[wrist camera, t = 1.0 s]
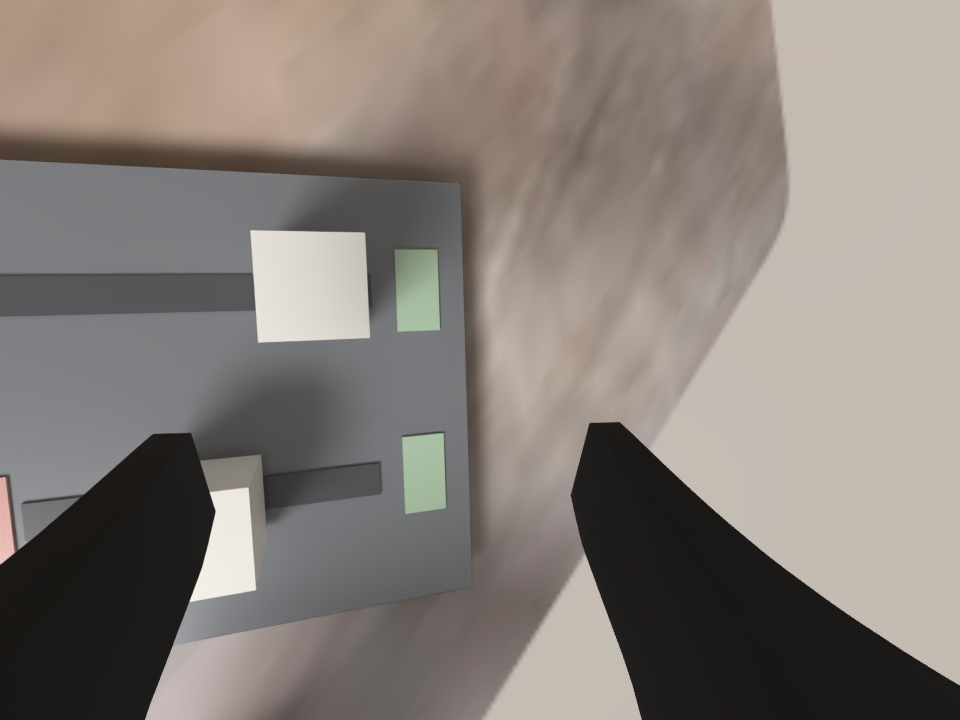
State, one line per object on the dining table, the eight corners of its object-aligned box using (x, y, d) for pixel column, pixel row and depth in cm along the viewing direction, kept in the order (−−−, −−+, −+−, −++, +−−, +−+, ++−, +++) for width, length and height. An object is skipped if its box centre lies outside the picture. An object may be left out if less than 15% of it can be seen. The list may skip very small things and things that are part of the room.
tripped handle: (267, 538, 18) (256, 590, 15) (169, 553, 17) (133, 611, 14) (261, 454, 18) (248, 487, 14) (161, 464, 17) (122, 502, 13)
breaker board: (462, 569, 22) (472, 587, 21) (-63, 665, 17) (-101, 700, 15) (450, 191, 21) (461, 182, 19) (-134, 165, 15) (-183, 149, 14)
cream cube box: (360, 333, 18) (370, 337, 15) (269, 337, 17) (258, 342, 14) (355, 247, 18) (364, 232, 15) (263, 246, 17) (249, 230, 14)
